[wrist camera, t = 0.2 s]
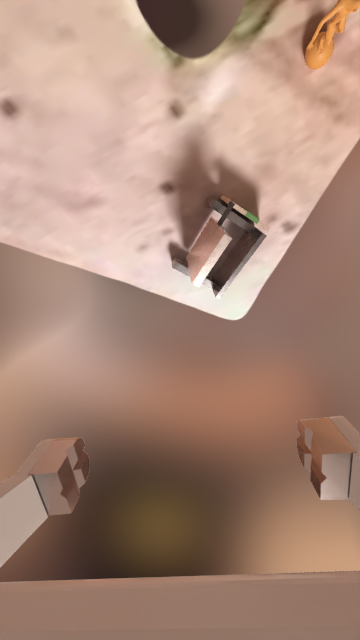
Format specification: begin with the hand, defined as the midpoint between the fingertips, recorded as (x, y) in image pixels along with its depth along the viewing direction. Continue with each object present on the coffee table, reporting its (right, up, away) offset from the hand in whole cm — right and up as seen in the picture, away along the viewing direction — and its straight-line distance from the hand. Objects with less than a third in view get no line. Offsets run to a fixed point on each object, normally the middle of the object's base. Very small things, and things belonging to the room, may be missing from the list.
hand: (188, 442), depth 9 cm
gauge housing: (+7, +22, +47) cm, 52 cm away
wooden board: (+5, +24, +43) cm, 50 cm away
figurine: (+21, +49, +30) cm, 61 cm away
